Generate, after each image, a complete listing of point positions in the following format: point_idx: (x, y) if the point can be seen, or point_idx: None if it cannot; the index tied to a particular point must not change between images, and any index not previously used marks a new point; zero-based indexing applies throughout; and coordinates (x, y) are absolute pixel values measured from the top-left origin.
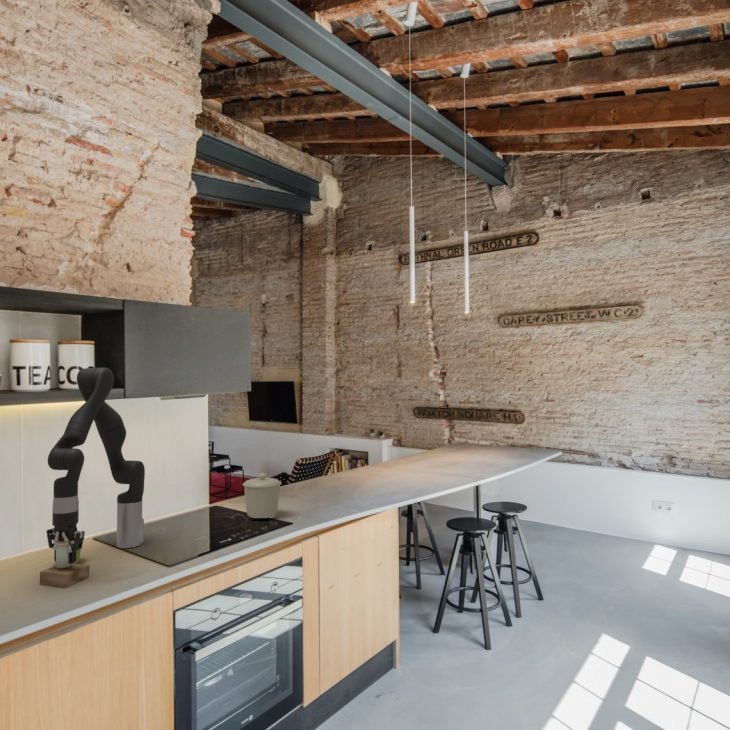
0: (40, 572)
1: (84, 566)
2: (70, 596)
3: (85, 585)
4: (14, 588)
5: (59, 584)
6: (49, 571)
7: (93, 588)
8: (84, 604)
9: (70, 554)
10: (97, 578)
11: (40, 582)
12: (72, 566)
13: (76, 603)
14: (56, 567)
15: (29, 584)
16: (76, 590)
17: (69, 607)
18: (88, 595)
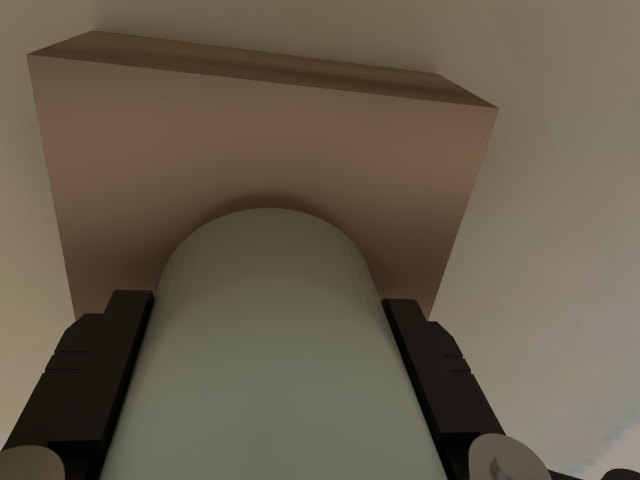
0: None
1: (461, 170)
2: (498, 391)
3: (505, 247)
4: (14, 402)
5: None
6: None
7: (589, 276)
8: (618, 431)
9: None
10: (537, 85)
11: None
12: (307, 205)
13: (574, 433)
14: (134, 276)
15: (34, 330)
16: (487, 326)
17: (560, 463)
18: (598, 359)
